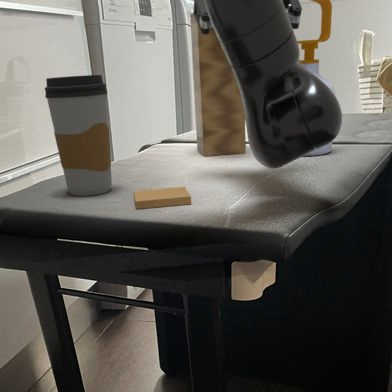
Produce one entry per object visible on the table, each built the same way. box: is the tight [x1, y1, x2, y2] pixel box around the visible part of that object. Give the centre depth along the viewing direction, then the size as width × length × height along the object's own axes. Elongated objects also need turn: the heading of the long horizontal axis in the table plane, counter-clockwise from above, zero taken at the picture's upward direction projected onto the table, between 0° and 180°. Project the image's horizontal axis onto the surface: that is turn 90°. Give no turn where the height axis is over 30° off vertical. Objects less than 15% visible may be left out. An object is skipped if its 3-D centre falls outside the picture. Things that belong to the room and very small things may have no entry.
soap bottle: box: [297, 0, 336, 157], centre depth 93 cm, size 9×9×25 cm
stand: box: [189, 11, 247, 157], centre depth 100 cm, size 8×8×23 cm
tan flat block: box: [132, 186, 192, 210], centre depth 71 cm, size 7×6×1 cm
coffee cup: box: [44, 74, 113, 197], centre depth 76 cm, size 8×8×15 cm
